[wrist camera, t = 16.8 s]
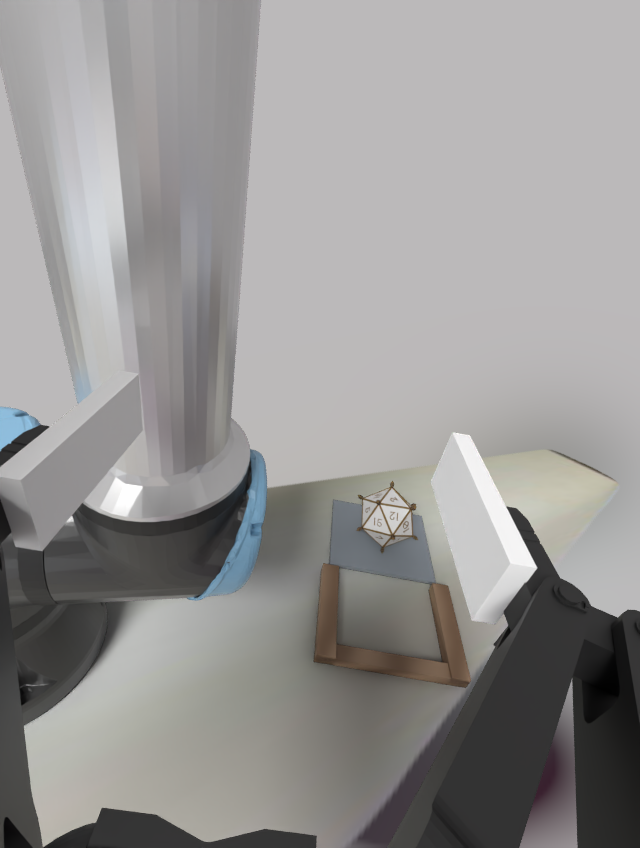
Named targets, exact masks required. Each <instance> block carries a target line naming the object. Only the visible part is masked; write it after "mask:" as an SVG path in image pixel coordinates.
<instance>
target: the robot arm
mask: <svg viewBox="0 0 640 848" xmlns="http://www.w3.org/2000/svg"><path fill="white" fill-rule="evenodd" d="M260 7H261V0H0V67H1V71H2V76H3V80H4V84H5V89H6V93H7V98H8V102H9V106H10V111H11V115H12V119H13V123H14V128H15V132H16V137H17V141H18V146H19V150H20V154H21V159H22V163H23V167H24V172H25V176H26V180H27V185H28V189H29V194H30V198H31V202H32V207H33V210H34V215H35V219H36V224H37V228H38V232H39V237H40V242H41V246H42V250H43V254H44V259H45V263H46V268H47V272H48V276H49V280H50V285H51V290H52V294H53V298H54V302H55V307H56V311H57V316H58V320H59V325H60V329H61V333H62V337H63V342H64V346H65V351H66V355H67V359H68V364H69V368H70V372H71V377H72V381H73V386H74V390H75V394H76V399H77V403H78V405H76V406H75V407H74V408H72V409H71V410H70V411H69V412H67V413H66V414H65V415H64V416H63V417H61V418H60V419H59V420H58V421H56V423H54V424H53V425H51V426H50V427H49V426H43V425H40V423H39V422H38V420H37V419H36V418H34V417H32V416H29V415H28V414H27V413H26V412H24V411H22V410H18V409H14V408H8V407H0V848H316V838H317V836H314V835H307V834H299V833H291V832H284V831H276V830H268V829H263V830H259V831H255V832H251V833H247V834H243V835H239V836H235V837H230V838H226V839H222V840H218V841H214V842H204V841H201V840H199V839H198V838H196V837H194V836H192V835H191V834H189V833H187V832H185V831H184V830H182V829H180V828H178V827H176V826H175V825H173V824H171V823H169V822H168V821H166V820H164V819H162V818H161V817H159V816H157V815H154V814H146V813H138V812H131V811H123V810H115V809H108V808H102V809H101V812H100V814H99V817H98V819H97V822H96V823H92V824H88V825H85V826H82V827H80V828H77V829H74V830H72V831H70V832H68V833H66V834H64V835H62V836H61V837H59V838H57V839H55V840H54V841H52V842H51V843H49V844H48V845H46V846H45V847H43V846H42V839H41V832H40V827H39V822H38V817H37V814H36V810H35V806H34V803H33V798H32V793H31V785H30V777H29V768H28V760H27V751H26V742H25V734H24V725H25V724H27V723H29V722H30V721H32V720H34V719H35V718H37V717H39V716H40V715H42V714H43V713H45V712H46V711H47V710H49V709H50V708H51V707H53V706H54V705H55V704H56V703H58V702H59V701H60V700H61V699H62V698H64V697H65V696H66V695H67V694H68V693H69V692H70V691H71V690H72V689H73V688H74V687H75V686H76V685H77V684H78V682H79V681H80V680H81V679H82V678H83V677H84V675H85V674H86V673H87V671H88V670H89V668H90V667H91V665H92V664H93V662H94V661H95V659H96V657H97V655H98V653H99V651H100V649H101V647H102V644H103V641H104V638H105V635H106V630H107V620H108V617H107V609H106V604H105V602H117V601H136V600H155V599H174V598H187V599H189V600H201V599H203V598H205V597H207V596H216V595H225V594H231V593H233V592H236V591H237V590H239V589H240V588H241V587H243V585H244V584H245V583H246V582H247V581H248V579H249V577H250V575H251V573H252V571H253V569H254V566H255V563H256V560H257V556H258V553H259V548H260V544H261V538H262V530H261V526H262V524H263V522H264V517H265V511H266V500H267V475H266V466H265V461H264V458H263V456H262V455H261V454H260V453H259V452H258V451H256V450H251V449H250V446H249V442H248V439H247V437H246V435H245V433H244V431H243V430H242V428H241V427H240V426H239V425H238V424H237V423H236V422H235V421H234V420H233V419H232V418H231V409H232V396H233V382H234V368H235V354H236V340H237V326H238V312H239V299H240V285H241V270H242V257H243V243H244V228H245V214H246V201H247V188H248V173H249V160H250V146H251V131H252V118H253V104H254V89H255V77H256V75H255V74H256V62H257V49H258V35H259V21H260ZM431 484H432V488H433V491H434V495H435V498H436V501H437V505H438V508H439V511H440V515H441V518H442V522H443V525H444V528H445V532H446V535H447V539H448V542H449V545H450V549H451V552H452V556H453V559H454V562H455V566H456V569H457V573H458V576H459V579H460V583H461V586H462V590H463V593H464V596H465V600H466V603H467V606H468V610H469V613H470V617H471V620H472V621H477V622H484V623H490V624H496V623H497V621H498V620H499V619H500V617H501V616H502V615H503V613H504V615H505V617H506V620H507V622H508V627H507V628H506V629H505V631H504V632H503V633H502V634H501V636H500V637H499V638H498V640H497V641H496V642H495V643H494V646H496V647H495V649H494V651H493V653H492V654H491V656H490V658H489V660H488V662H487V664H486V666H485V667H484V669H483V671H482V673H481V675H480V677H479V679H478V680H477V682H476V684H475V686H474V688H473V690H472V692H471V693H470V695H469V697H468V699H467V701H466V703H465V705H464V706H463V708H462V710H461V712H460V714H459V716H458V718H457V719H456V722H455V723H454V725H453V727H452V729H451V731H450V732H449V734H448V736H447V738H446V740H445V742H444V744H443V745H442V747H441V749H440V751H439V753H438V755H437V757H436V758H435V760H434V762H433V764H432V766H431V768H430V770H429V771H428V773H427V775H426V777H425V779H424V781H423V783H422V784H421V786H420V788H419V790H418V792H417V794H416V796H415V798H414V799H413V802H412V803H411V805H410V807H409V809H408V810H407V813H406V814H405V816H404V818H403V820H402V822H401V824H400V825H399V827H398V829H397V831H396V833H395V835H394V837H393V838H392V840H391V842H390V844H389V845H388V847H387V848H519V846H520V843H521V840H522V836H523V833H524V830H525V827H526V823H527V820H528V817H529V814H530V811H531V808H532V804H533V801H534V798H535V795H536V792H537V788H538V785H539V782H540V779H541V775H542V772H543V769H544V766H545V762H546V760H547V756H548V753H549V750H550V747H551V744H552V740H553V737H554V734H555V730H556V728H557V724H558V721H559V718H560V714H561V711H562V708H563V705H564V702H565V699H566V695H567V692H568V689H569V686H570V683H571V679H573V680H572V682H573V712H574V713H573V714H574V746H575V775H576V777H575V778H576V807H577V808H576V809H577V842H578V848H640V612H639V611H637V610H627V611H625V612H624V613H622V614H621V615H620V616H619V617H618V618H617V617H615V616H613V615H610V614H608V613H606V612H603V611H601V610H599V609H596V608H594V607H592V606H591V605H590V604H589V601H588V599H587V598H586V597H585V596H584V595H583V593H582V592H581V591H580V590H579V589H578V588H576V587H575V586H574V585H572V584H570V583H569V582H567V581H565V580H563V579H560V577H559V575H558V574H557V572H556V570H555V568H554V566H553V564H552V563H551V561H550V559H549V557H548V555H547V554H546V552H545V550H544V548H543V546H542V545H541V544H540V541H539V539H538V537H537V536H536V534H534V530H533V528H532V527H531V525H530V523H529V521H528V520H527V519H526V518H525V517H524V516H523V515H522V513H521V512H520V511H519V510H518V509H517V508H511V507H506V505H505V504H504V502H503V500H502V498H501V496H500V494H499V492H498V490H497V488H496V486H495V484H494V482H493V480H492V478H491V476H490V474H489V472H488V470H487V468H486V466H485V464H484V462H483V460H482V458H481V456H480V455H479V452H478V450H477V448H476V446H475V445H474V443H473V441H472V439H471V437H470V435H464V434H459V433H454V432H453V433H452V434H451V437H450V439H449V441H448V444H447V446H446V448H445V450H444V453H443V455H442V457H441V460H440V462H439V464H438V466H437V469H436V471H435V473H434V475H433V478H432V480H431Z"/></svg>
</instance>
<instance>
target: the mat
mask: <svg viewBox="0 0 640 848" xmlns="http://www.w3.org/2000/svg"><path fill="white" fill-rule="evenodd" d="M412 518H413V535H414V536H416V537H417V538H418V540H415V539H413V537H410V538H408V539H405V540H402V541H400V542H397V543H394V544H392V545H389V546H386V547H384V552H383V553H381V551H380V550H381V548H382V547H381V546H380V545H379V544H378V543H377V542H376V541H375V540H374V539H373V538H371V537H370V536H369V535H368V534H367V533H366V532H365V531H364V530H363V529H362V530H361V531H356V530H357V528H358V527H361V524H362V505H359V504H354V503H349V502H343V501H338V500H333V512H332V529H331V545H330V562H329V564H330V565H336V566H339V568H345V569H350V570H356V571H361V572H367V573H372V574H378V575H383V576H389V577H395V578H400V579H406V580H411V581H417V582H422V583H428V584H432V583H436V581H435V577H434V572H433V567H432V563H431V558H430V553H429V549H428V544H427V539H426V535H425V530H424V525H423V521H422V516H419V515H413V514H412Z"/></svg>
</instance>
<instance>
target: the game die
mask: <svg viewBox="0 0 640 848" xmlns="http://www.w3.org/2000/svg"><path fill="white" fill-rule="evenodd" d="M393 486H394V483H393V481H392V482H391V487H390V488H387V489H385V490H382V491H380V492H377V493H375V494H372V495H370V496H367V497H365V498H363V496H361V495H358V497H359V498H360V499H362V524H361V527H358V528H357V530H356V531H361V530H362V529H363V530H364V531H365V532H366V533H367V534H368V535H369V536H370V537H371V538H373V539H374V540H375V541H376V542H377V543H378V544H379V545H380V546H381V547H382V548H381V550H380V551H381V553H383V552H384V547H386V546H389V545H392V544H394V543H397V542H400V541H402V540H405V539H408V538H410V537H413V539H415V540H418V538H417V537H416V536H414V535H413V518H412V510H415V509H416V504H411V505H410V504H409V503H408V502H407V501H406V500H405V499H404V498H403V497H402V496H401V495H400V494H399V493H398V492H397V491H396V490H395V489H394V488H393Z"/></svg>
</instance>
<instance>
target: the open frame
mask: <svg viewBox="0 0 640 848" xmlns="http://www.w3.org/2000/svg"><path fill="white" fill-rule="evenodd" d="M338 581H339V566H336V565H330V564H325V563H323V566H322V570H321V579H320V591H319V603H318V616H317V628H316V640H315V653H314V662H318V663H324V664H330V665H336V666H342V667H347V668H353V669H359V670H365V671H371V672H377V673H382V674H388V675H394V676H400V677H406V678H411V679H417V680H423V681H429V682H435V683H441V684H446V685H452V686H458V687H464V688H466V687H467V685H468V684H469V683H470V682H471V678H470V674H469V670H468V666H467V662H466V658H465V654H464V649H463V645H462V641H461V637H460V633H459V629H458V625H457V621H456V617H455V613H454V608H453V604H452V600H451V596H450V592H449V588H448V586H447V585H441V584H436V583H432V585H431V587H430V589H429V595H430V600H431V605H432V610H433V615H434V621H435V626H436V631H437V636H438V641H439V647H440V652H441V657H442V662H437V661H431V660H425V659H420V658H414V657H408V656H402V655H396V654H391V653H385V652H379V651H373V650H368V649H362V648H356V647H350V646H345V645H339V644H336V640H337V611H338Z"/></svg>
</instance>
